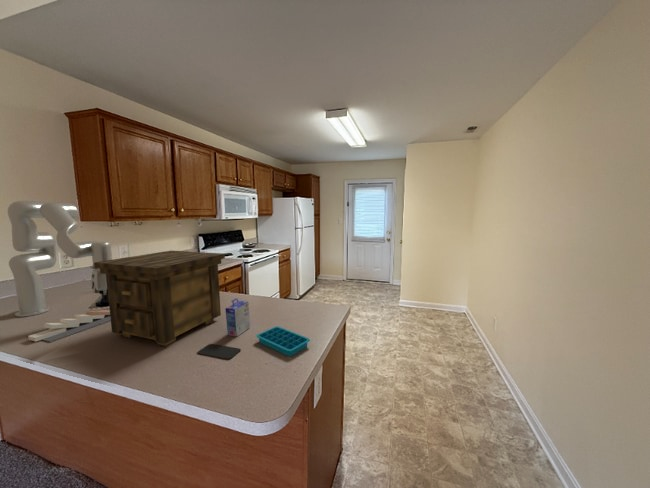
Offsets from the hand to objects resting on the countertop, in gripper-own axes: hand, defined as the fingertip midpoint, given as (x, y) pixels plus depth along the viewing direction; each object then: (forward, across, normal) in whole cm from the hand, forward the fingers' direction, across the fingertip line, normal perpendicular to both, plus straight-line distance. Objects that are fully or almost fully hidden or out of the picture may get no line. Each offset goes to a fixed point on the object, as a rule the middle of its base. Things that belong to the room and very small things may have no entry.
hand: (107, 301), depth 133 cm
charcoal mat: (+8, -10, 0) cm, 13 cm away
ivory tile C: (+6, -14, 0) cm, 15 cm away
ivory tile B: (+6, -8, 0) cm, 10 cm away
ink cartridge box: (+8, +6, -75) cm, 76 cm away
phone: (+8, -10, -79) cm, 80 cm away
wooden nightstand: (+8, 0, -43) cm, 44 cm away
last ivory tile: (+6, -18, 0) cm, 20 cm away
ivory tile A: (+6, -3, 0) cm, 7 cm away
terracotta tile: (+6, +2, 0) cm, 6 cm away
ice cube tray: (+8, +2, -99) cm, 99 cm away
